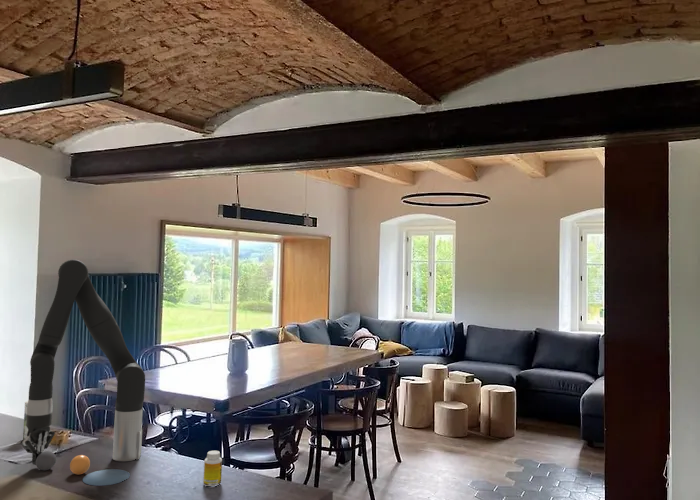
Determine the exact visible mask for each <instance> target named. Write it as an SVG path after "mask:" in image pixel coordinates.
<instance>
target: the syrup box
mask: <svg viewBox="0 0 700 500" xmlns="http://www.w3.org/2000/svg"><path fill="white" fill-rule="evenodd" d="M27 405H28V400H27V401H25V402H24V415H23V416H24V417H23V433H22V440H25V439H26V437H27V432H28V428H27V427H26V420H27Z"/></svg>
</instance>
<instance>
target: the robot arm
mask: <svg viewBox="0 0 700 500" xmlns="http://www.w3.org/2000/svg"><path fill="white" fill-rule="evenodd" d="M57 272H58V273H57V274H58V275H57V276H58V280H57V287H56V292H55V294H54V298H53V301H52V303H51V306H50V308H49V310H48V312H47V315H46V317H45V319H44V322H43V325H42V328H41V330H40V333H39V337H38V341H37V343H36V345H35V348H34V350H33V352H32V355H31V358H30V362H29V365H30V383H29V386H28V387H29V388H28V400H27V401H28V405H27V420H26V427H27V428H28V432H27V437H26V439H22V440H20V445H22V447H23V448H24V451H26V452H27V453H29V454H32V455H31V464H32V465H33V466H34V465H35V466H36V458H37V457H38V455H39V454H41V453H42V452H45V451H44V450H46V449H48V448H49V446H50V443H51V442H52V441H53V438H54V436H55V434H56V432H55V431H52V430H51V427H50V426H51V425H52V423H53V421H52V420H53V408H54V407H53V406H54V405H53V404H54V403H53V390H54V389H53V388H54V387H53V385H54V384H53V380H54V375H55V374H54V372H55V364H56V363H55V358H56V355H57V354H56V353H57V352H58V347H60V344H61V343H62V341H63V338H64V335H65V332H66V330H67V327H68V323H69V320H70V316H71V312H72V310H73V306H74V303H76V305H77V308H78V310H79V313H80V316H81V318H82V320H83V323H84V324H85V326H86V328H87V330H88V332H89V333H90V335H91V337H92V339H93V341H94V342H95V344H96V345H97V346H98V347H99V349H100V351H102V353H103V354H104V355H105V356H106V358H107V360H108V361H109V363H110V367H111V368H112V371H113V372H114V375H115V378H116V383H117V384H116V400H115V404H114V407H115V408H114V424H113V425H114V426H113V440H112V442H113V445H112V460H113V461H116V462H130V461H135V459H136V460H139V459H141V455H142V445H143V444H142V442H143V427H142V426H143V409H144V401H145V388H146V373H145V372H144V370H143V368H142V367H141V366H140V364H138V362H137V361H136V359H135V358H134V356H133V355H132V354H131V352H130V351H129V349H128V347H127V344H126V342H125V339H124V336H123V333H122V331H121V329H120V326H119V324H118V322H117V320H116V318H115V316H113V313H112V311H110V308H109V307H108V305H106V303H105V301H104V300H103V299H102V298H101V297H100V295H99V294H98V293H97V291H96V289H95V287H94V284H93V283H92V281H91V278H90V275H89V269H88V267H87V265H86V264H85V263H84V262H83V261H80V260H78V259H69V260H66V261H64V262H63V263H62V264H61V265H60V266H59V268H58V271H57Z"/></svg>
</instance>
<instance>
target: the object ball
mask: <svg viewBox="0 0 700 500" xmlns="http://www.w3.org/2000/svg"><path fill="white" fill-rule="evenodd" d="M90 465H91V460H90V458H89V457H88V456H87V455H84V454H79V455H75V456H74V457H73V458H72V459H71V461H70V463H69V469H70V471H71V472H72V474H75V475H76V476H77V475H83V474H85V473H87V472H88V470H89V469H90V467H91V466H90Z"/></svg>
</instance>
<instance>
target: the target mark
mask: <svg viewBox="0 0 700 500" xmlns="http://www.w3.org/2000/svg"><path fill="white" fill-rule="evenodd" d="M130 475H131V474H130V472H128V471H126V470H124V469H116V468H115V469H114V468H108V469H100V470H96V471H92V472H89V473H87V474H85V476H83V477H82V482H83V483H84V484H86V485H88V486H89V485H90V486H97V487H98V486H99V487H101V486H110V485H111V486H112V485H115V484H116V485H117V484H120V483H123V482H125V481H126V479H127V480H128V479H129V478H130ZM124 480H125V481H124ZM122 481H123V482H122Z"/></svg>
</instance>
